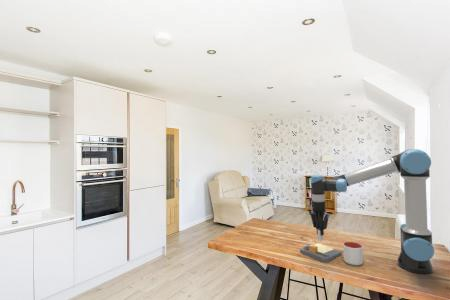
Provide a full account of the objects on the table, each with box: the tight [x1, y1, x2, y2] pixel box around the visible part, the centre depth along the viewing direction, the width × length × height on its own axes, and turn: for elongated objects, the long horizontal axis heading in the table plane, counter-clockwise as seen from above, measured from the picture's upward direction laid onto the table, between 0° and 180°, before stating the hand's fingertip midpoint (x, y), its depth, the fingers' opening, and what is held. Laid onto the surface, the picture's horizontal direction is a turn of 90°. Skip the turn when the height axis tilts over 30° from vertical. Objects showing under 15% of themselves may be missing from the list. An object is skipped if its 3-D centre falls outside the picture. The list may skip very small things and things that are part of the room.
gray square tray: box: [299, 243, 343, 264], centre depth 153 cm, size 18×17×5 cm
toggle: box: [309, 244, 318, 254], centre depth 150 cm, size 4×3×4 cm
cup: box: [342, 241, 364, 266], centre depth 141 cm, size 10×10×10 cm
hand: (320, 240), depth 146 cm, fingers closed
